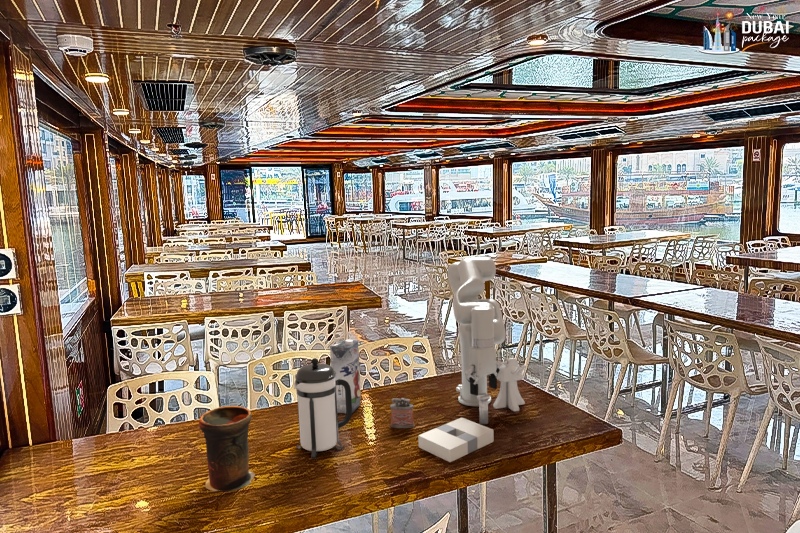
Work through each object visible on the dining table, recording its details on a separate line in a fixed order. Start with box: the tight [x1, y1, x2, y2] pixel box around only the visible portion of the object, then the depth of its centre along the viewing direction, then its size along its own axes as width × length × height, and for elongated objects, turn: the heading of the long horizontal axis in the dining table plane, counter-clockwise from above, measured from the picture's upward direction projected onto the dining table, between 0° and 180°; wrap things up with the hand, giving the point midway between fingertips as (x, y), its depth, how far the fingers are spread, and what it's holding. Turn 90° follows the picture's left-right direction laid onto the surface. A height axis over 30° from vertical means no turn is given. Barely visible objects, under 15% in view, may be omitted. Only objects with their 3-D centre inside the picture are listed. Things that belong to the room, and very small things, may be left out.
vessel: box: [198, 405, 256, 493], centre depth 164 cm, size 14×14×20 cm
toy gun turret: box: [492, 357, 527, 412], centre depth 212 cm, size 12×13×18 cm
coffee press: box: [293, 357, 353, 460], centre depth 182 cm, size 17×16×30 cm
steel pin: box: [477, 392, 491, 425], centre depth 198 cm, size 4×4×10 cm
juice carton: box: [329, 339, 362, 414], centre depth 213 cm, size 9×10×27 cm
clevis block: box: [417, 416, 495, 463], centre depth 183 cm, size 20×14×4 cm
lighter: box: [389, 397, 415, 429], centre depth 198 cm, size 8×3×10 cm, turn 84°
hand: (483, 391), depth 197 cm, fingers open, 9 cm apart
